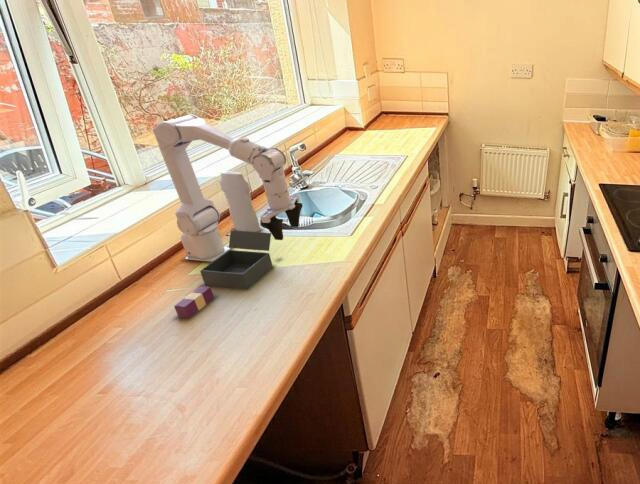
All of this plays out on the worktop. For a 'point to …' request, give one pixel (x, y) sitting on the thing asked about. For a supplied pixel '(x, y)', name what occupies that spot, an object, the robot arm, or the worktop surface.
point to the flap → (250, 240)
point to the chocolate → (194, 302)
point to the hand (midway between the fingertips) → (287, 232)
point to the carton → (236, 269)
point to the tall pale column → (239, 201)
